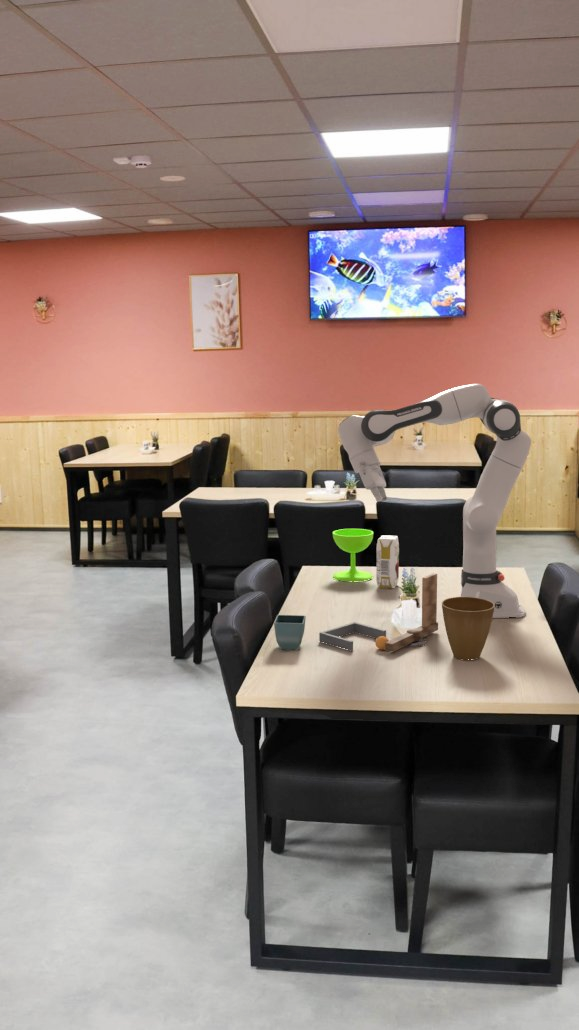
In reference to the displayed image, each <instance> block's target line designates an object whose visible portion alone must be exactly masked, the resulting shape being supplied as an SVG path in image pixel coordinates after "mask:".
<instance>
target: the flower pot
mask: <svg viewBox="0 0 579 1030" xmlns="http://www.w3.org/2000/svg"><path fill="white" fill-rule="evenodd" d="M306 618H307V616H306V615H304V614H303V615H302V614H301V615H299V614H296V615H293V614H277V615H276V617H275V619H274V621H273V625H274V626H273V627H274V636H275V640H276V643H277V645H278V647H279V648H280V649H281V650H283V649H298V650H299V648H300V647H301V643H302V641H303V637H304V634H305V628H306V620H307V619H306Z"/></svg>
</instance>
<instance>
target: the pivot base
mask: <svg viewBox="0 0 579 1030" xmlns="http://www.w3.org/2000/svg"><path fill="white" fill-rule="evenodd" d="M427 641H428V640H427V639H425V638H424V637H422V638H420V640H419V641H414V642H412V643H410V644H408V645H407V646H406V647H410V646H419V647H423V645H424V646H426V645H427ZM425 644H426V645H425Z"/></svg>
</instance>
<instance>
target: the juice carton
mask: <svg viewBox="0 0 579 1030" xmlns="http://www.w3.org/2000/svg"><path fill="white" fill-rule="evenodd" d="M399 555H400V543H399V537H398V535H390V534H389V535H380V537H379V538H378V539H377V543H376V570H375V571H376V585H377V588H378V589H387V588H394V589H395V587H397V585H398V582H399V578H400V577H399V575H400V572H399V568H400V567H399V566H400V563H399V562H400V561H399V560H400V559H399V558H400V556H399Z"/></svg>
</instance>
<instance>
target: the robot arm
mask: <svg viewBox="0 0 579 1030" xmlns="http://www.w3.org/2000/svg"><path fill="white" fill-rule="evenodd" d="M472 418H478V419H480V421H481V424H483V426H484V427H485V429H487V430H488V431H489V432H491V433H492V434H495V435H496V443H495V447H494V448H493V450H492V452H491V455H490V456H489V458H488V460H487V462H486V464H485V466H484V467H483V471H482V473H481V474H480V477H479V480H478V484H477V486H476V488H475V491H474V492H473V495H472V496H470V497H469V498H468V499H467V500H466V501H465V503H464V505H463V509H462V519H463V520H462V532H463V533H462V536H463V537H462V541H463V543H462V545H463V546H462V547H463V549H462V550H463V552H462V553H463V555H462V569H461V573H460V574H461V575H460V577H461V578H460V584H461V592H460V597H475V598H481V599H485V600H488V601H491V602H493V603H494V605H495V606H494V612H493V617H492V619H503V618H504V619H507V618H508V619H509V617H516V618H523V617H524V616H526V608H525V607H524V606H522V605H520V601H519V597H518V595H517V593H516V592H515V591H514V590H513V589H512V588H511V587H509V586H508V585H506V584H505V583H504V582H503V581H504V580H505V579H506V578H505V575H504V574H503V573H502V572H501V571H500V570H499V571H498V570H497V560H498V559H497V558H498V557H497V553H498V551H497V549H498V546H497V542H498V541H497V527H498V525H499V522H500V520H501V518H502V515H503V513H504V511H505V508H506V505H507V503H508V501H509V497H510V495H511V492H512V490H513V488H514V486H515V484H516V481H517V480H518V478H519V476H520V473H521V472H522V470H523V467H524V465H525V463H526V461H527V458H528V455H529V453H530V450H531V445H532V440H531V439H532V438H531V437H530V435H528V433H526V432H525V431H524V430H522V428H521V427H522V426H521V425H522V423H521V414H520V411H519V409H518V407H516V406H515V405H514V404H513V403H512V402H510V401H509V400H505V399H501V398H495V397H491V396H490V393H489V391H488V389H487V388H486V387H485V386H484V385H483V384H482V383H471V384H466V385H461V386H457V387H452V388H451V389H447V390H445V391H441V392H439V393H437V394H435V395H433V396H431V397H429V398H427V399H424V400H421V401H420V402H417V403H415V404H411V405H407V406H404V407H400V408H398V409H393V410H384V409H374V410H371V411H369V412H368V413H366V414H365V415H362V416H360V415H356V414H352V415H349V416H348V417H346V418H345V419H343V420H342V421H341V423H339V424H338V428H337V431H338V436H339V439H340V441H341V444H342V446H343V449H344V450H345V451H346V453H347V455H348V459H349V462H350V464H351V466H352V469H353V471H354V473H355V474H359V476H360V478H361V481H362V483H363V486H364V488H365V490H369V491H370V492H371V494H372V496H373V497H374V498H375V500H376V502H382V503H384V502H387V501H388V496H387V493H386V489H385V488H386V487H387V482H386V479H385V477H384V476H385V475H384V474H383V471H382V469H381V467H380V466H381V465H382V464H381V462H380V460H379V457H378V456H377V452H376V451H375V449H374V447H378V446H382V445H387V444H388V443H390V441H392V439H393V438H394V435H395V432H396V431H399V430H401V429H403V428H407V427H408V428H409V427H411V426H414V425H417V424H422V423H423V424H425V423H429V424H434V425H438V426H444V425H445V426H447V425H452V424H455V423H460V422H462V421H466V420H468V419H472ZM522 616H523V617H522Z"/></svg>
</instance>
